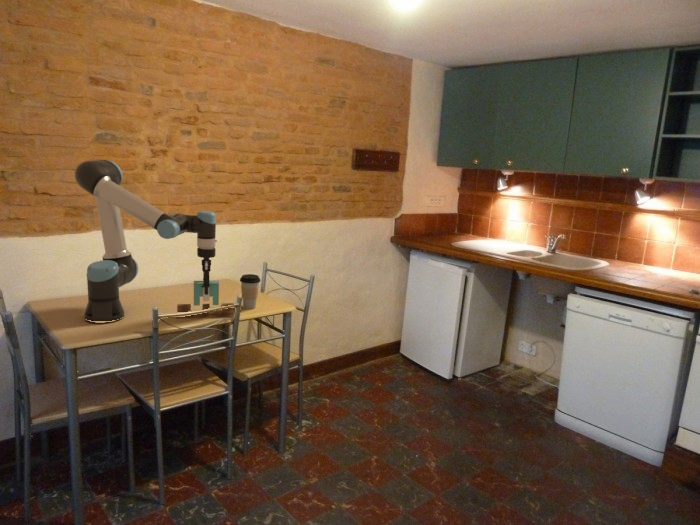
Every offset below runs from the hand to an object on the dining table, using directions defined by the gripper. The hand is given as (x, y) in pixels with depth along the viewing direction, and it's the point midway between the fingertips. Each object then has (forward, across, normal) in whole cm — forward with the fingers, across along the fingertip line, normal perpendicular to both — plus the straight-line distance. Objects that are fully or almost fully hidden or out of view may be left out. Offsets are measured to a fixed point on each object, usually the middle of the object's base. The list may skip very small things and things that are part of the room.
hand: (206, 299), depth 224 cm
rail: (+7, 0, 0) cm, 7 cm away
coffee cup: (+8, +10, -20) cm, 24 cm away
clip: (+2, 0, 0) cm, 2 cm away
